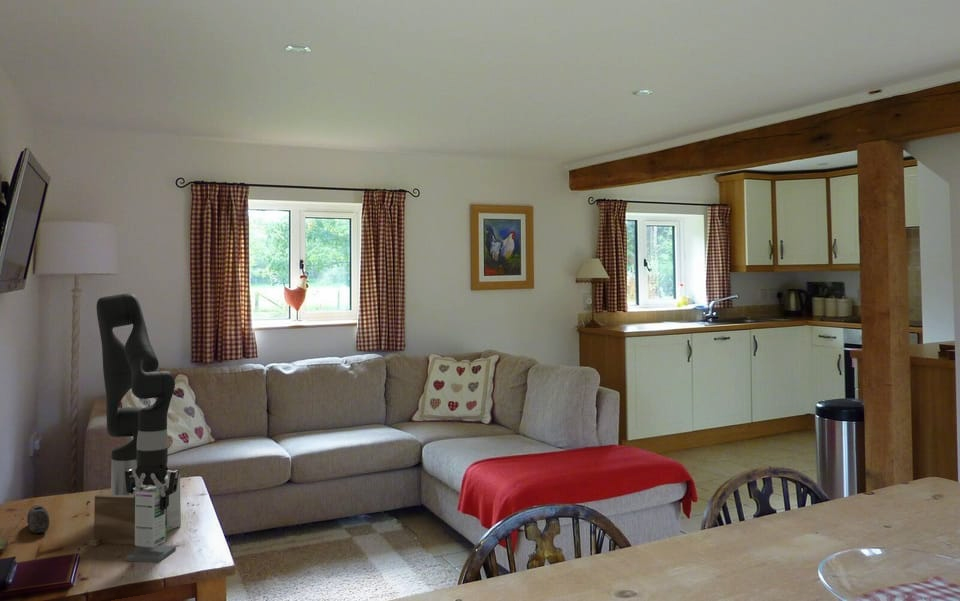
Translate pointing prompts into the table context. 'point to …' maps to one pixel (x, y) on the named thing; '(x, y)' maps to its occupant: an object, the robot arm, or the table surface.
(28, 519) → the perforated stone tool
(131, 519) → the brown wooden standing panel
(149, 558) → the mat
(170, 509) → the skincare box
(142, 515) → the syrup box
